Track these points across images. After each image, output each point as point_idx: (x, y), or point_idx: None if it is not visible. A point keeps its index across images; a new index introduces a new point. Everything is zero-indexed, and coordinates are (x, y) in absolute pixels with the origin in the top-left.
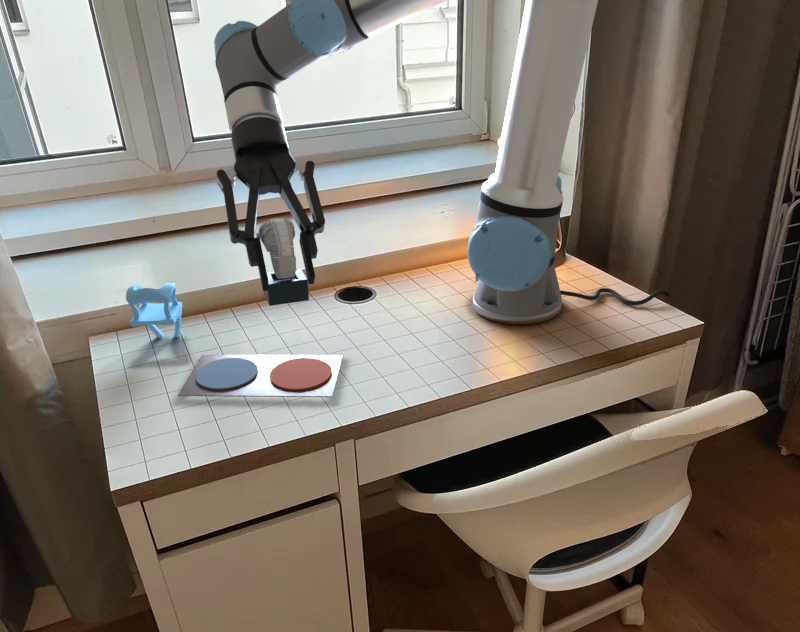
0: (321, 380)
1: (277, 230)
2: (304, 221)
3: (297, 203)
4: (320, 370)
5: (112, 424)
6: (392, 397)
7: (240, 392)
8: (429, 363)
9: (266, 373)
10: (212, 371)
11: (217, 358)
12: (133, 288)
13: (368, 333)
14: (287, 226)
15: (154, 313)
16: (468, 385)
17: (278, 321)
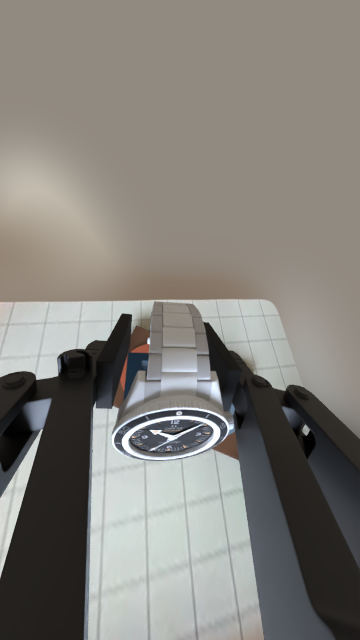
0: (137, 350)
1: (191, 311)
2: (78, 389)
3: (50, 473)
4: None
5: (293, 366)
6: (86, 317)
7: None
8: (14, 359)
9: None
10: (230, 409)
11: (226, 444)
12: None
13: (30, 470)
14: (160, 317)
15: None
16: (11, 307)
17: (135, 577)
